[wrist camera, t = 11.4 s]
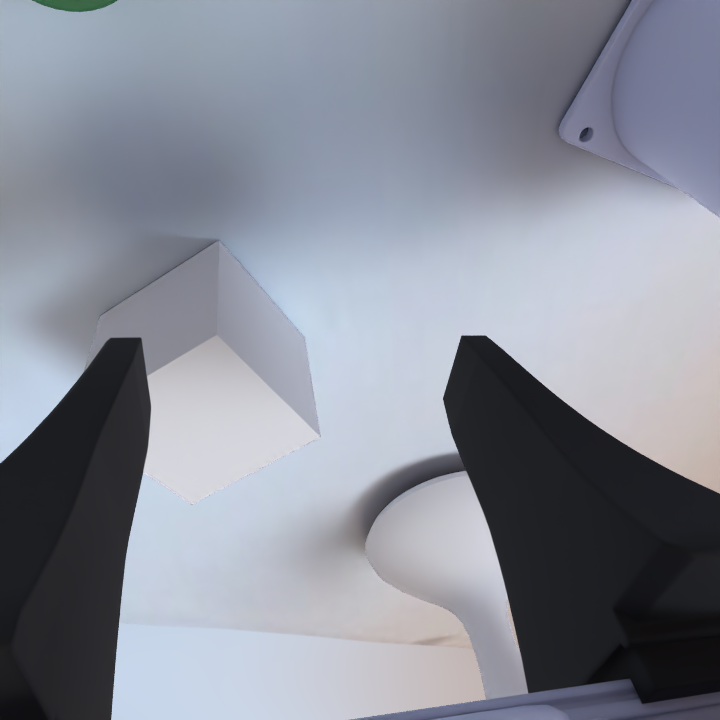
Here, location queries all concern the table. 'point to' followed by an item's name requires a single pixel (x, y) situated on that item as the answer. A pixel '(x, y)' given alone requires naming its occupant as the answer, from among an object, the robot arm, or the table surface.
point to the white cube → (215, 374)
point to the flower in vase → (451, 570)
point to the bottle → (76, 4)
